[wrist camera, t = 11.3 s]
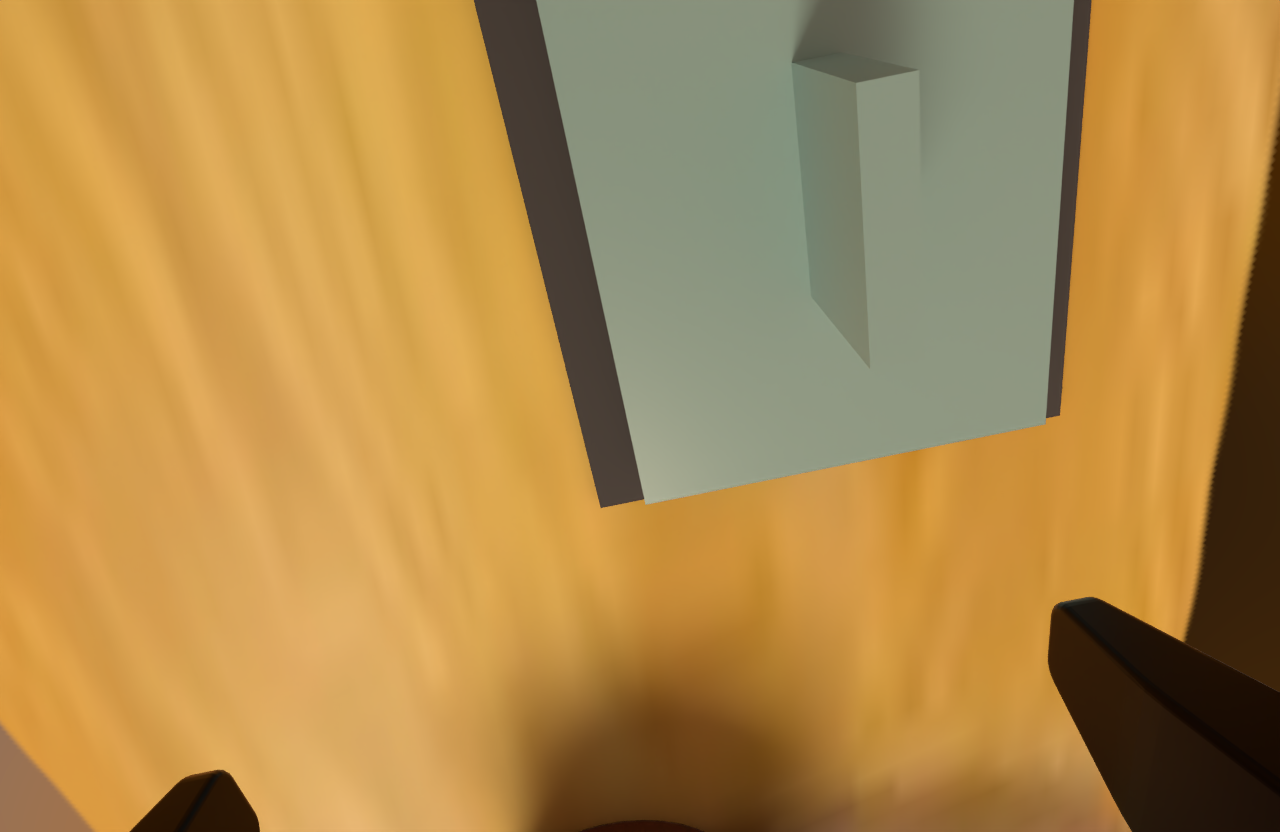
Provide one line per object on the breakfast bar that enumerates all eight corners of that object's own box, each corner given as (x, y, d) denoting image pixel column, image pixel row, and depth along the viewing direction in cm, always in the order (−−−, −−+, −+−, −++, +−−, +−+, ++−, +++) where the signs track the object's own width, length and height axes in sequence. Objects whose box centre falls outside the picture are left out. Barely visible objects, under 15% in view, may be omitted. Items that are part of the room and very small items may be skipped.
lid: (1014, 396, 22) (1145, 513, 17) (640, 471, 22) (663, 610, 17) (1044, -273, 15) (1276, -399, 10) (503, -160, 15) (477, -231, 10)
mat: (1052, 408, 23) (1059, 415, 22) (600, 500, 23) (600, 507, 23) (1104, -328, 15) (1116, -335, 15) (429, -187, 15) (426, -190, 15)
